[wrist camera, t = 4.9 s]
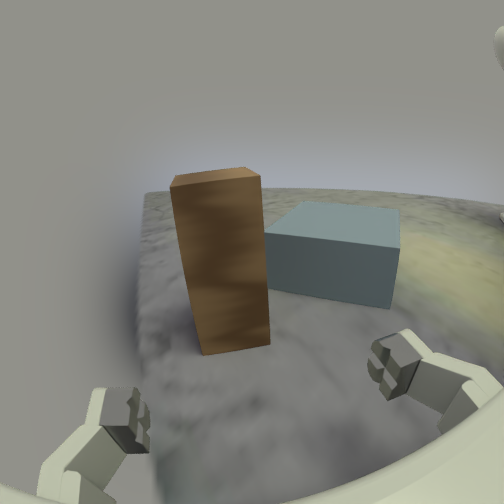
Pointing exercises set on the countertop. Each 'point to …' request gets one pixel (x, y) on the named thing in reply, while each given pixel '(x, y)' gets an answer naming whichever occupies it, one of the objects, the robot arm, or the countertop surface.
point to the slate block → (335, 252)
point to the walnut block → (223, 256)
